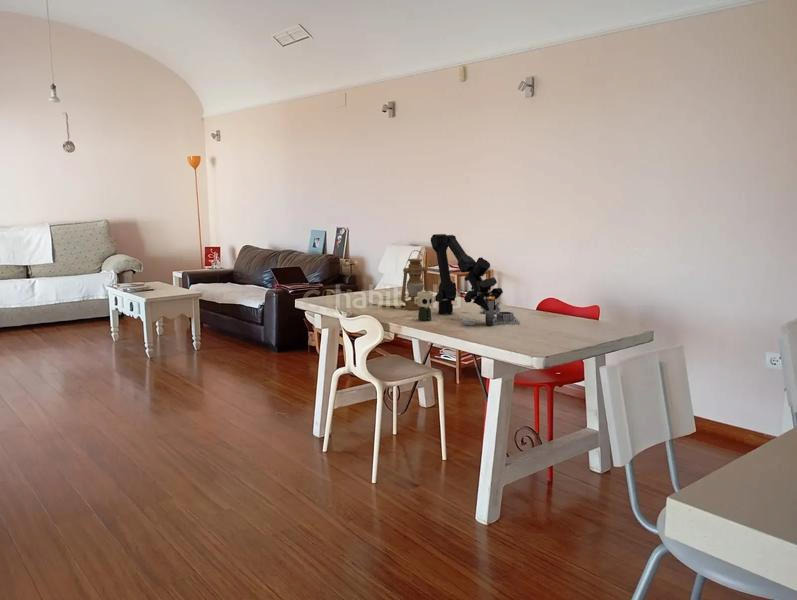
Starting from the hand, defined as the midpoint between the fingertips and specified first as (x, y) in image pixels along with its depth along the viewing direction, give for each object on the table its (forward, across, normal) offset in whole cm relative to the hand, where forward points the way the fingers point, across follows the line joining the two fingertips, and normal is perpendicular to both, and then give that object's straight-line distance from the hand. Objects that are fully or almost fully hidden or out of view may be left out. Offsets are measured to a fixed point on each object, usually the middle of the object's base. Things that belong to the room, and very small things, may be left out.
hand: (491, 310), depth 287 cm
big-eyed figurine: (-13, -18, +24) cm, 33 cm away
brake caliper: (-13, +21, +24) cm, 34 cm away
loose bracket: (-2, -7, +12) cm, 14 cm away
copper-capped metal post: (+4, 0, +6) cm, 7 cm away
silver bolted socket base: (+2, +12, +8) cm, 14 cm away
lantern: (-33, -5, +44) cm, 55 cm away
